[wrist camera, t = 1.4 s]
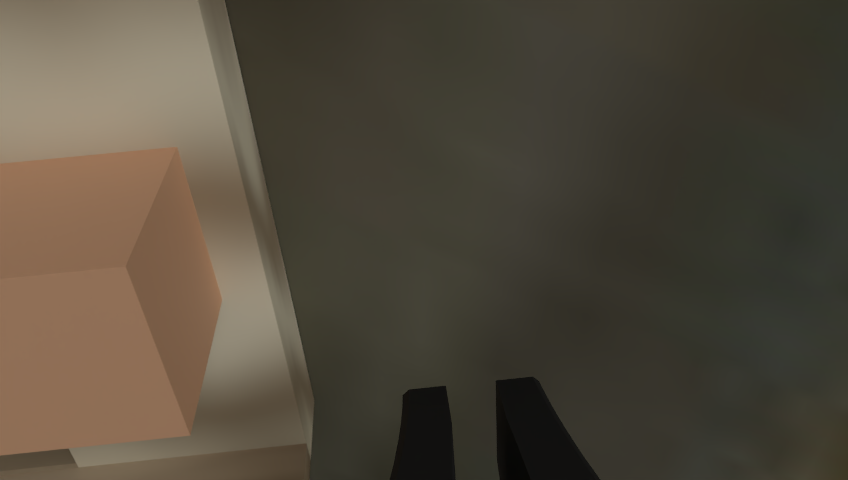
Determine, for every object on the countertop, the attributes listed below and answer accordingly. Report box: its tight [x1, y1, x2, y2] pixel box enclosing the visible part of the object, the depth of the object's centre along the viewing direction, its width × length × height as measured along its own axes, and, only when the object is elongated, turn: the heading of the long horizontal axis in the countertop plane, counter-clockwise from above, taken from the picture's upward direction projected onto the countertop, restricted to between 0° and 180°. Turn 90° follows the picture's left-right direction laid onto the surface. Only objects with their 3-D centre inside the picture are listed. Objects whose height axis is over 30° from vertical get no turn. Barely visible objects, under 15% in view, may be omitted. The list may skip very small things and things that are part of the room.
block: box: [0, 147, 222, 456], centre depth 16 cm, size 4×4×4 cm
